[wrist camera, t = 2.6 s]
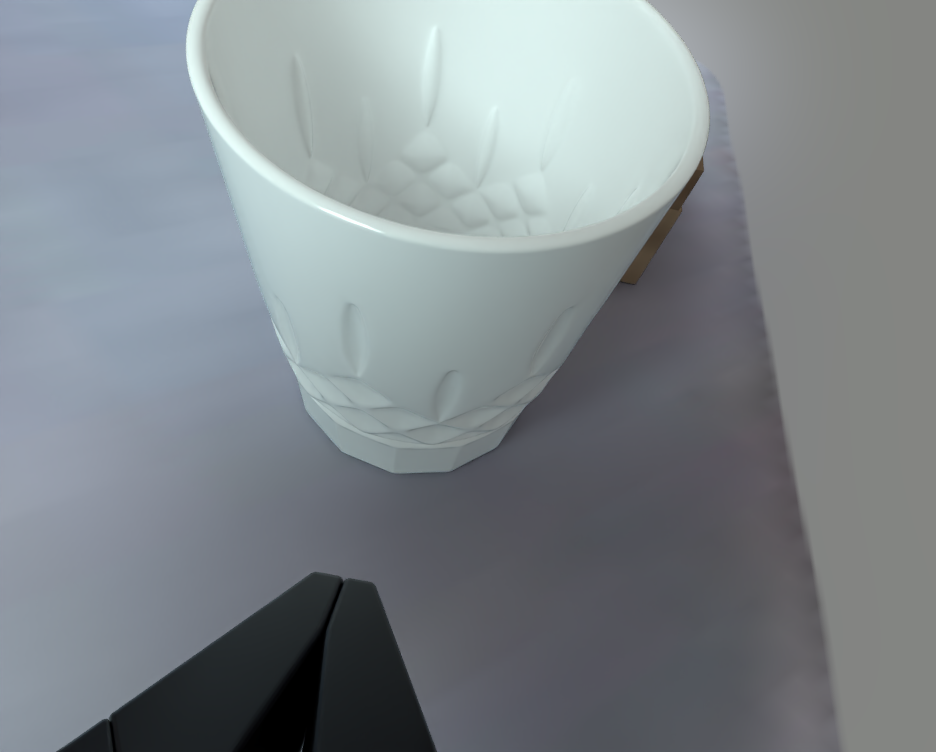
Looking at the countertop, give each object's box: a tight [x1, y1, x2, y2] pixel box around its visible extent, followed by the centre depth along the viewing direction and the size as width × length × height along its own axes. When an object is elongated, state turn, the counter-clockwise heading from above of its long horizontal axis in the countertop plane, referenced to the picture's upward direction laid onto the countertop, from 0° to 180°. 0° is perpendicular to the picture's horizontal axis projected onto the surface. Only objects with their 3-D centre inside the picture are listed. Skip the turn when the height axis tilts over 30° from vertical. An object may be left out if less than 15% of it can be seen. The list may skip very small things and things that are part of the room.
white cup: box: [186, 0, 710, 474], centre depth 13 cm, size 8×8×10 cm
